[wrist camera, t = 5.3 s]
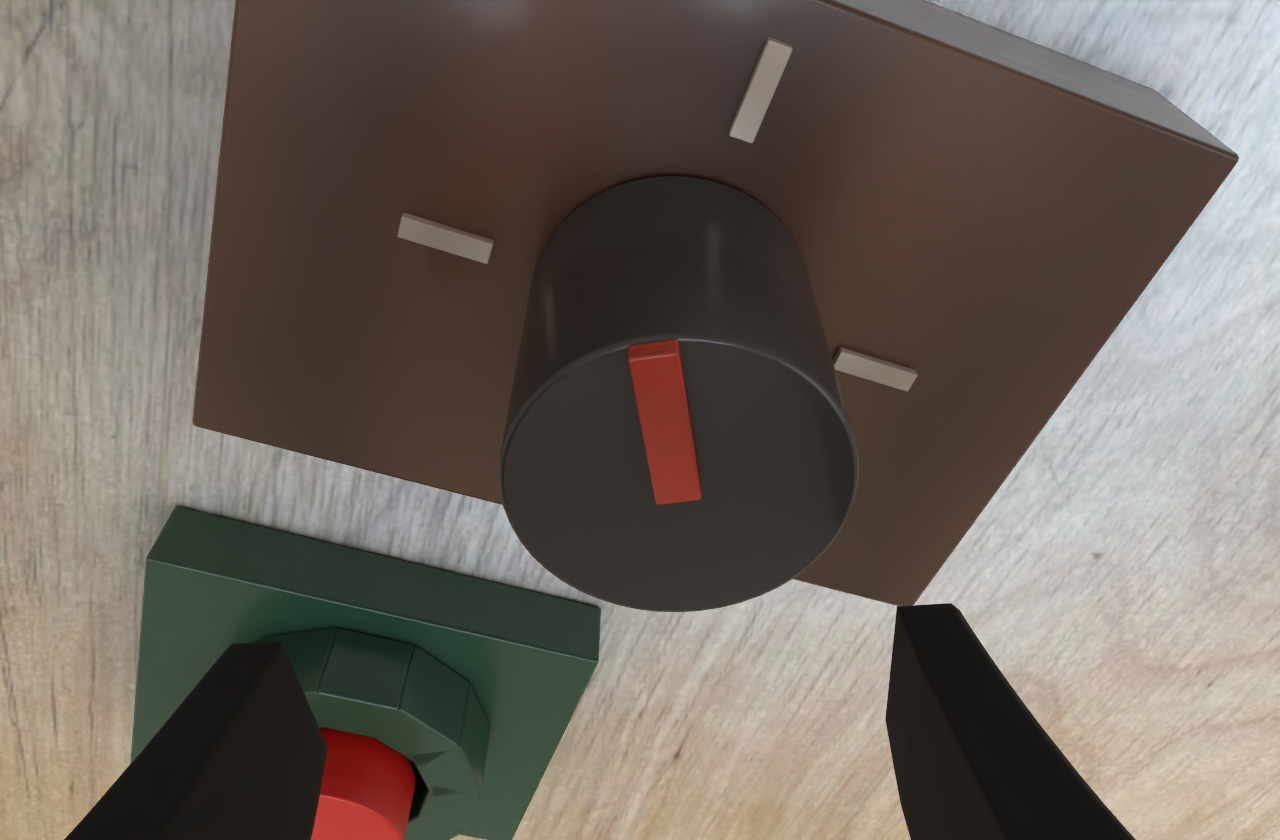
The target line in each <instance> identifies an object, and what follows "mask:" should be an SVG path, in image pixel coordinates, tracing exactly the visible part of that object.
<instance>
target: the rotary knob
mask: <svg viewBox="0 0 1280 840" xmlns="http://www.w3.org/2000/svg"><path fill="white" fill-rule="evenodd" d="M498 472H499V489H500V494H501V498H502V503H503V507H504V509H505V512H506V514H507V517H508V519H509V522H510V524H511V526H512V528H513V529H514V531H515V533H516V535H517V536H518V538H519V540H520V541H521V543H522V544H523V545H524V546H525V548H526V549H527V550H528V551H529V553H530V554H531V555H532V556H533V557H534V558H535V559H536V560H537V561H538V562H539V563H540V564H541V565H542V566H543V567H544V568H546V569H547V570H548V571H549V572H551V573H552V574H553V575H555V576H556V577H558V578H559V579H560V580H562V581H563V582H565V583H567V584H569V585H570V586H572V587H574V588H576V589H577V590H579V591H582V592H584V593H586V594H588V595H591V596H593V597H595V598H598V599H601V600H604V601H607V602H610V603H613V604H616V605H621V606H625V607H630V608H635V609H641V610H649V611H658V612H688V611H702V610H708V609H715V608H721V607H725V606H729V605H733V604H737V603H741V602H744V601H746V600H749V599H752V598H755V597H758V596H761V595H763V594H765V593H767V592H769V591H771V590H773V589H775V588H778V587H779V586H781V585H783V584H784V583H786V582H788V581H789V580H791V579H793V578H794V577H796V576H797V575H799V574H800V573H801V572H802V571H804V570H805V569H806V568H808V567H809V566H810V565H812V564H813V563H814V562H815V561H816V560H817V559H818V558H819V557H820V556H821V555H822V554H823V553H824V552H825V551H826V550H827V548H828V547H829V546H830V545H831V543H832V542H833V541H834V539H835V538H836V537H837V535H838V534H839V532H840V530H841V529H842V527H843V525H844V523H845V522H846V520H847V517H848V515H849V512H850V510H851V507H852V505H853V502H854V499H855V495H856V490H857V486H858V478H859V458H858V450H857V444H856V440H855V437H854V433H853V430H852V426H851V423H850V420H849V416H848V413H847V409H846V406H845V402H844V399H843V395H842V392H841V388H840V385H839V381H838V378H837V374H836V371H835V367H834V364H833V360H832V357H831V353H830V350H829V346H828V343H827V340H826V336H825V333H824V329H823V326H822V322H821V319H820V315H819V312H818V308H817V305H816V301H815V298H814V294H813V291H812V287H811V284H810V280H809V277H808V273H807V270H806V267H805V263H804V260H803V257H802V255H801V253H800V251H799V249H798V246H797V244H796V242H795V241H794V239H793V238H792V236H791V235H790V233H789V232H788V230H787V229H786V228H785V226H784V225H783V224H782V223H781V222H780V221H779V220H778V219H777V218H776V216H775V215H774V214H772V213H771V212H770V211H769V210H768V209H766V208H765V207H764V206H763V205H762V204H760V203H759V202H757V201H756V200H754V199H752V198H751V197H749V196H748V195H746V194H744V193H742V192H740V191H738V190H735V189H733V188H731V187H729V186H726V185H723V184H720V183H716V182H713V181H710V180H705V179H699V178H693V177H682V176H663V177H651V178H645V179H640V180H636V181H631V182H628V183H625V184H622V185H619V186H616V187H613V188H611V189H609V190H607V191H605V192H603V193H601V194H598V195H596V196H594V197H593V198H591V199H590V200H588V201H587V202H585V203H584V204H582V205H581V206H579V207H578V208H577V209H576V210H575V211H574V212H572V213H571V214H570V215H569V216H568V217H567V218H566V219H565V220H564V221H563V222H562V223H561V224H560V225H559V227H558V228H557V229H556V230H555V231H554V232H553V234H552V235H551V237H550V238H549V240H548V242H547V243H546V245H545V246H544V248H543V250H542V252H541V255H540V257H539V259H538V261H537V264H536V267H535V271H534V274H533V278H532V282H531V288H530V293H529V299H528V304H527V310H526V315H525V321H524V326H523V332H522V337H521V343H520V348H519V354H518V359H517V365H516V370H515V376H514V381H513V387H512V392H511V398H510V403H509V409H508V414H507V420H506V425H505V431H504V436H503V442H502V447H501V453H500V461H499V470H498Z"/></svg>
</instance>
